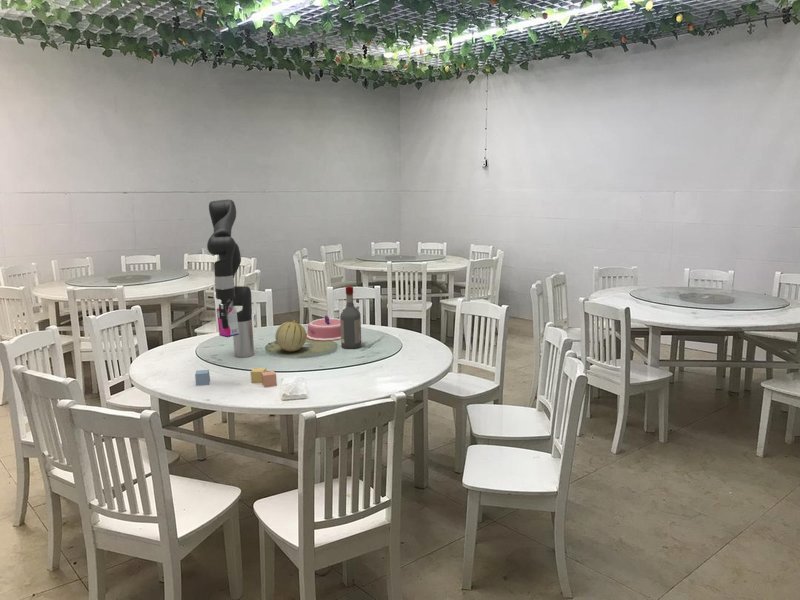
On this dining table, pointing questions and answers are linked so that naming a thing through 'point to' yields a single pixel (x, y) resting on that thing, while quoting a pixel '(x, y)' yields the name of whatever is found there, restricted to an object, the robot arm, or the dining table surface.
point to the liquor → (350, 323)
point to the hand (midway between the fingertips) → (227, 325)
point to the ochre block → (257, 375)
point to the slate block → (202, 377)
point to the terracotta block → (269, 379)
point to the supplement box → (229, 323)
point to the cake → (324, 329)
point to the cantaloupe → (290, 336)
